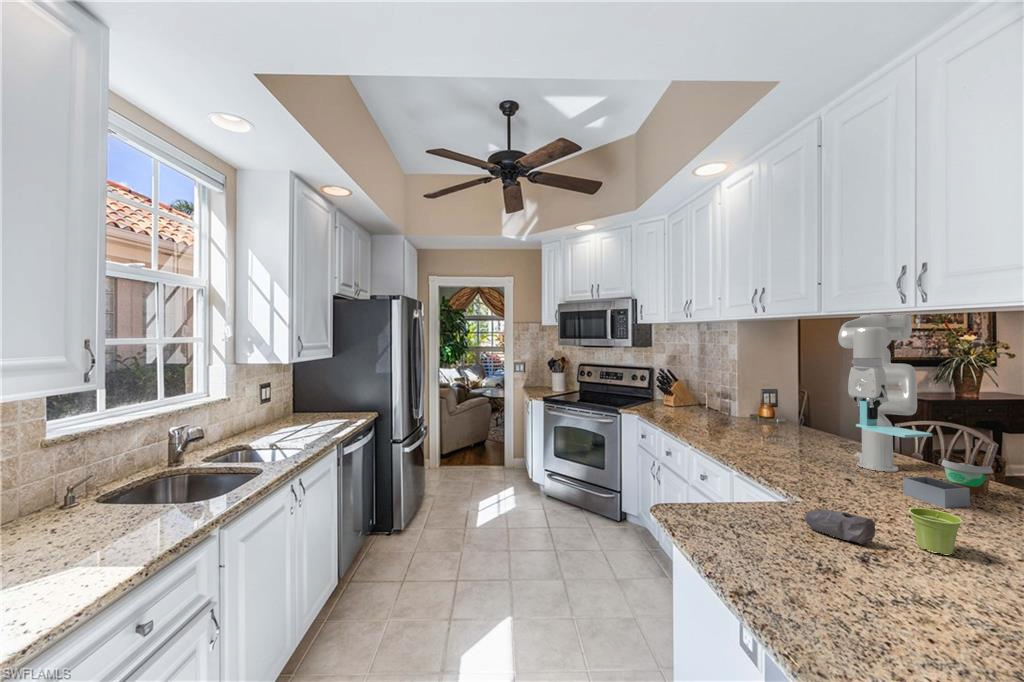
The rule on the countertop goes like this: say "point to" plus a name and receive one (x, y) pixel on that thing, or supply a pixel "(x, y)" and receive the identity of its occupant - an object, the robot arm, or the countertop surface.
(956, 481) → the food container
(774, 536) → the countertop surface
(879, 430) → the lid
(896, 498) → the countertop surface
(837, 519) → the perforated stone tool
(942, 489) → the tub
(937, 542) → the plant pot
